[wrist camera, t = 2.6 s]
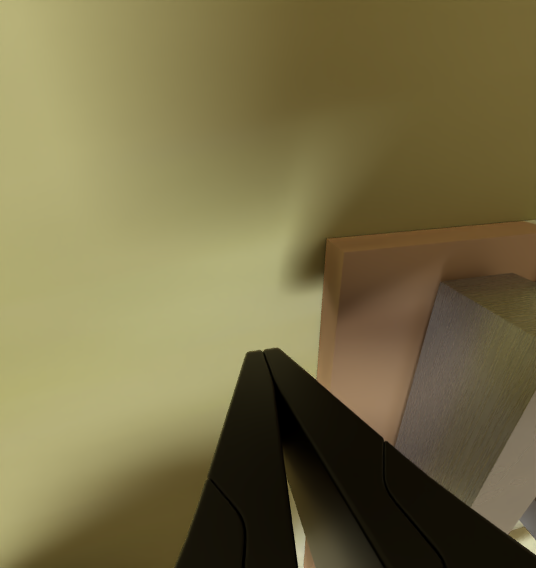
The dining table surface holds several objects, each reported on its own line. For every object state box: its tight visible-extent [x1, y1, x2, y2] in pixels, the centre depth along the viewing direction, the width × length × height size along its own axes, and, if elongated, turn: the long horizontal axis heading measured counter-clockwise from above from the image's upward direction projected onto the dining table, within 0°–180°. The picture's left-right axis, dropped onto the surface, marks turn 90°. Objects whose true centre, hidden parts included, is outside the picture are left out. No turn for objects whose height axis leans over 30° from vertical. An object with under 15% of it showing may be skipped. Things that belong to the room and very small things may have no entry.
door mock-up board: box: [304, 220, 536, 568], centre depth 13 cm, size 22×18×4 cm
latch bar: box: [395, 273, 536, 534], centre depth 9 cm, size 13×4×4 cm, turn 1°
